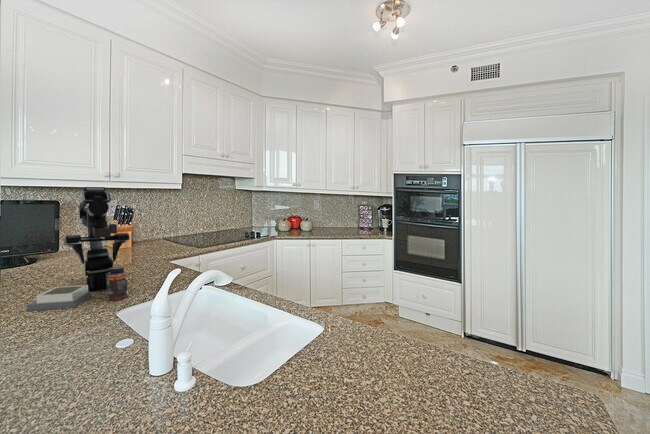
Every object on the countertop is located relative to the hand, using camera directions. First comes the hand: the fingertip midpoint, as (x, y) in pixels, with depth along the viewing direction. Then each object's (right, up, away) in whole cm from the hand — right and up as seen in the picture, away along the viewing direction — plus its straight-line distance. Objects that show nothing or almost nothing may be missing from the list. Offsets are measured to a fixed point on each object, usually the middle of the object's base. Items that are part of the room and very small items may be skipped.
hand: (99, 262), depth 110 cm
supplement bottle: (+7, -13, 0) cm, 15 cm away
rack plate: (-9, -13, -6) cm, 17 cm away
